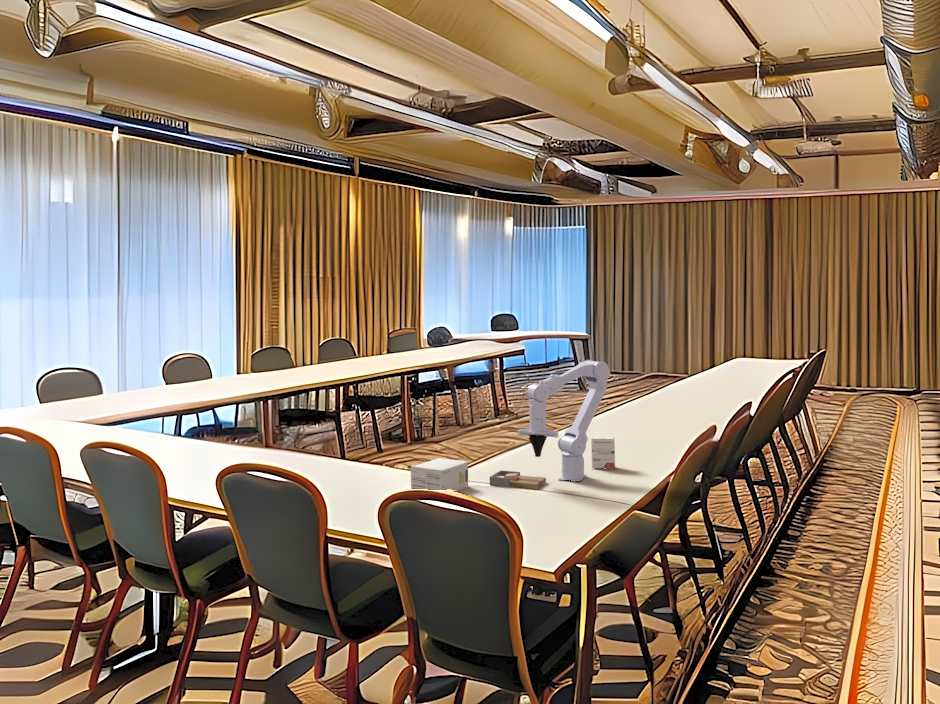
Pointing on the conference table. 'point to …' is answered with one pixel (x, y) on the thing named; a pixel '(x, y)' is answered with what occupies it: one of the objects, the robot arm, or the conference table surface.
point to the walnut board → (528, 482)
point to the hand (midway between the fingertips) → (538, 456)
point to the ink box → (603, 452)
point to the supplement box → (440, 475)
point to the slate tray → (501, 478)
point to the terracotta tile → (512, 476)
